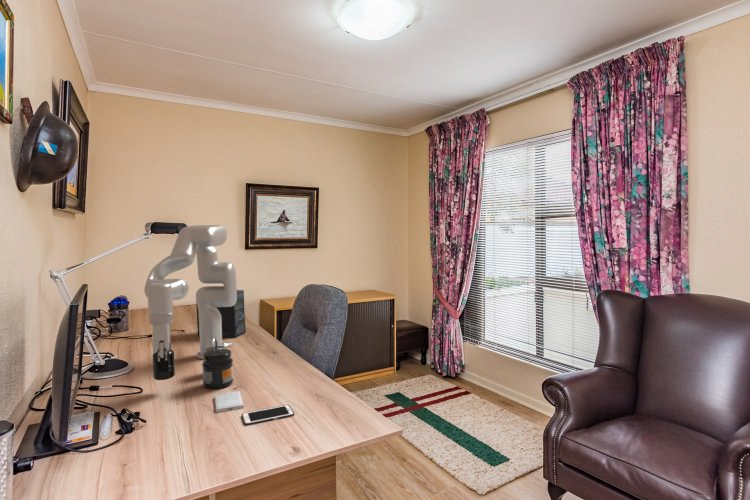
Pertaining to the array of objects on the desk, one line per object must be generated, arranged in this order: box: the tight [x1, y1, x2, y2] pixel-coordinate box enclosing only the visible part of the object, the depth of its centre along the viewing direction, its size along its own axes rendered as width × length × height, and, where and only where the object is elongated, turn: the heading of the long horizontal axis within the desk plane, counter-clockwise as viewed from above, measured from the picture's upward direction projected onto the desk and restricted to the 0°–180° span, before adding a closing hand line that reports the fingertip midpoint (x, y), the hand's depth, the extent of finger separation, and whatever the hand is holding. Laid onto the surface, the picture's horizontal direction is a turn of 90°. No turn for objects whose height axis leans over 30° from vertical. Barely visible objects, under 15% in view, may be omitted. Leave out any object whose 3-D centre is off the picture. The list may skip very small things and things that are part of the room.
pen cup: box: [205, 339, 224, 352], centre depth 163 cm, size 7×7×14 cm
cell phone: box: [241, 404, 295, 426], centre depth 125 cm, size 8×15×1 cm, turn 115°
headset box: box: [195, 289, 247, 338], centre depth 225 cm, size 22×12×26 cm, turn 81°
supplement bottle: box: [152, 342, 176, 381], centre depth 144 cm, size 7×7×12 cm
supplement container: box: [201, 348, 234, 390], centre depth 151 cm, size 10×10×12 cm
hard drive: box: [214, 391, 245, 414], centre depth 134 cm, size 2×8×12 cm
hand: (164, 367), depth 144 cm, fingers closed on supplement bottle, 6 cm apart
